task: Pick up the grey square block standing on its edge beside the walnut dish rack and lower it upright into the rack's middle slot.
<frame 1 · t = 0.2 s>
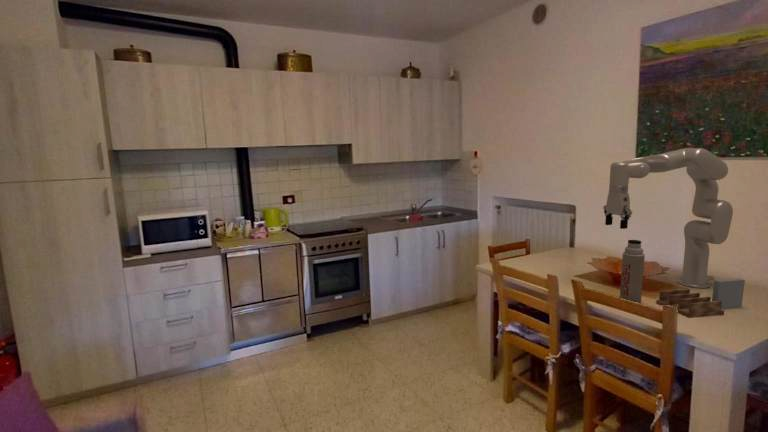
hand: (615, 226, 188), 31 cm above the table, tool pointing down, fingers open, 9 cm apart
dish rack: (688, 308, 170), on the table
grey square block: (726, 307, 170), on the table
thermos bottle: (629, 304, 177), on the table
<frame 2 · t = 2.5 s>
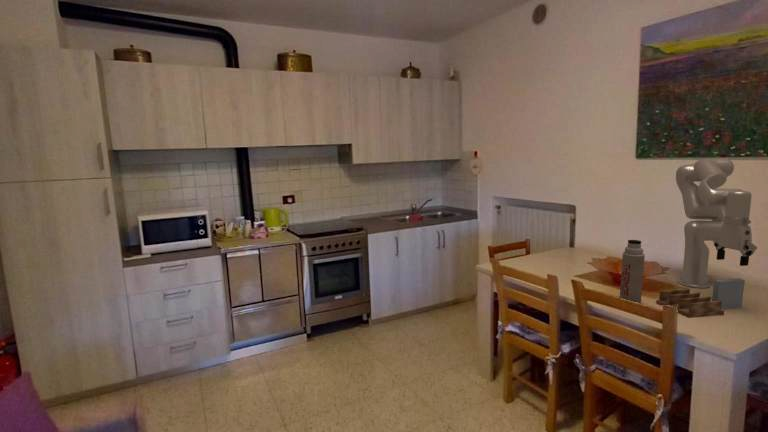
hand: (731, 262, 167), 19 cm above the table, tool pointing down, fingers open, 9 cm apart
nothing on the table moved.
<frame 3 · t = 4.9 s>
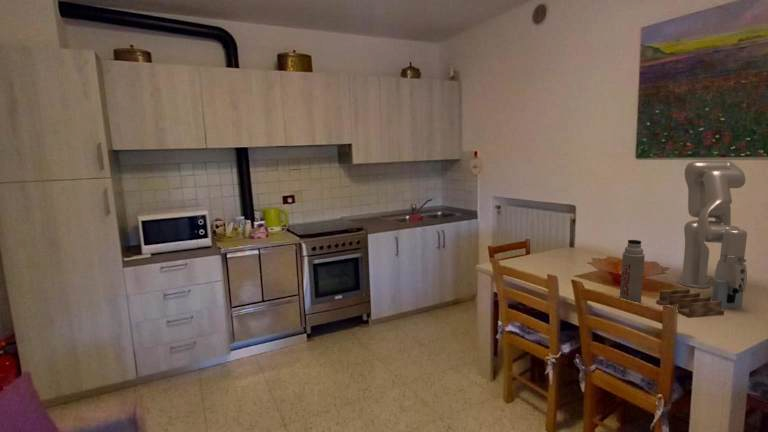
hand: (727, 301, 170), 3 cm above the table, tool pointing down, fingers closed on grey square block, 2 cm apart
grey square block: (726, 307, 170), on the table, touching gripper
everything else where it was.
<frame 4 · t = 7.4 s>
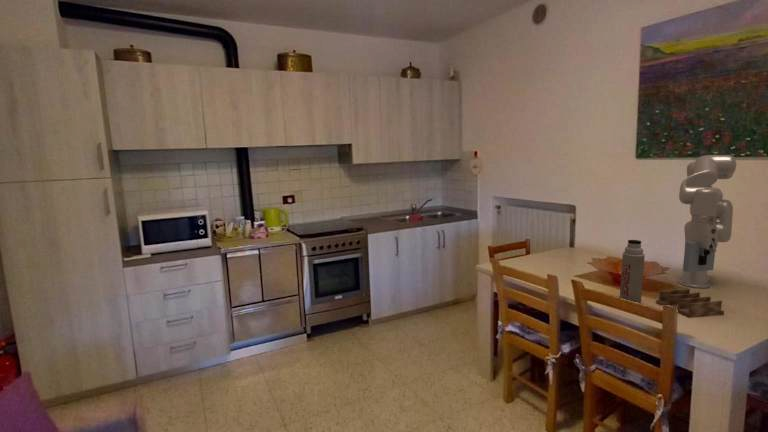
hand: (698, 263, 167), 19 cm above the table, tool pointing down, fingers closed on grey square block, 2 cm apart
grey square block: (698, 270, 167), point 17 cm above the table, touching gripper
everything else where it was.
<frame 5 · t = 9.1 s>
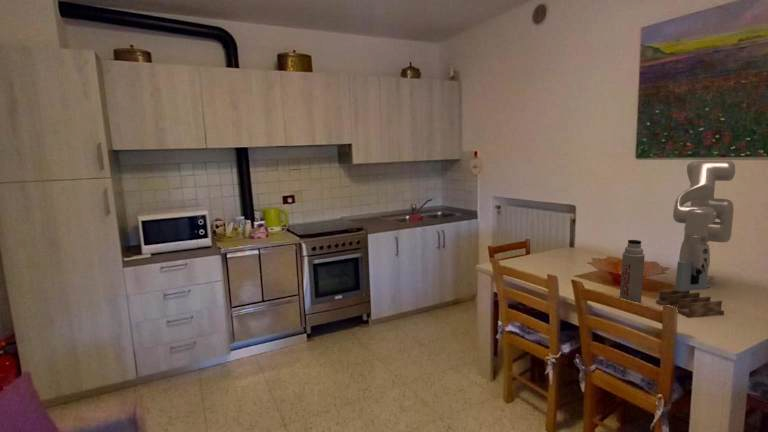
hand: (691, 282, 168), 11 cm above the table, tool pointing down, fingers closed on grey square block, 2 cm apart
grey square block: (690, 289, 168), point 8 cm above the table, touching gripper
everything else where it was.
when the fingers open (7 cm above the table, at t = 10.2 s): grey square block drops 2 cm, resting on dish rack.
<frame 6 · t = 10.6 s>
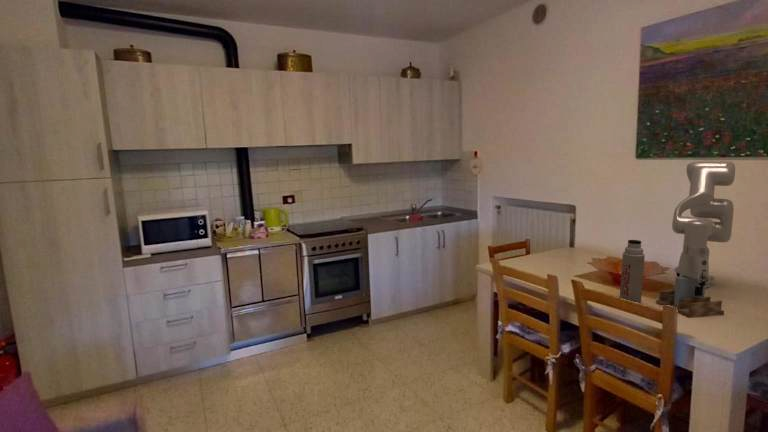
hand: (690, 292, 169), 7 cm above the table, tool pointing down, fingers open, 6 cm apart
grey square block: (688, 305, 170), point 2 cm above the table, touching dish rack
everything else where it was.
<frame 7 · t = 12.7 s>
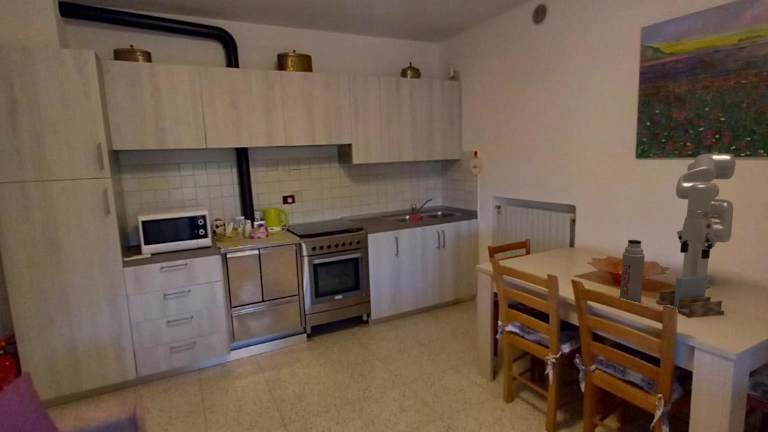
hand: (694, 255, 168), 22 cm above the table, tool pointing down, fingers open, 9 cm apart
nothing on the table moved.
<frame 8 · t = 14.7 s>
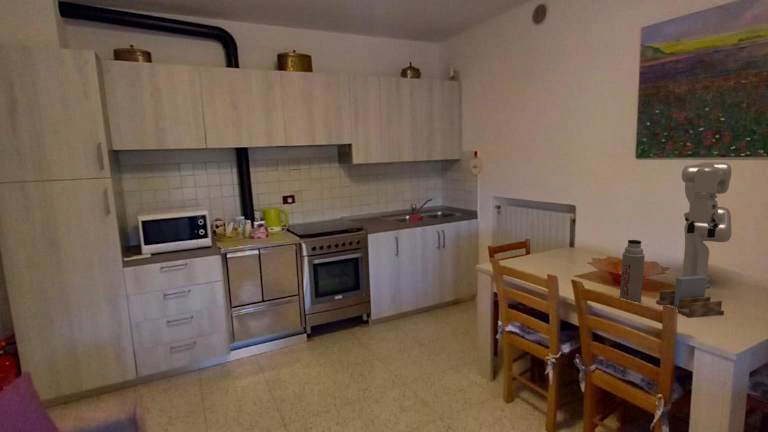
hand: (700, 235, 178), 28 cm above the table, tool pointing down, fingers open, 9 cm apart
nothing on the table moved.
at the end: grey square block inside the target area on the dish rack (0.1 cm from its centre), point 1.5 cm above the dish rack's base; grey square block tilted 0°; the gripper is holding nothing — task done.
